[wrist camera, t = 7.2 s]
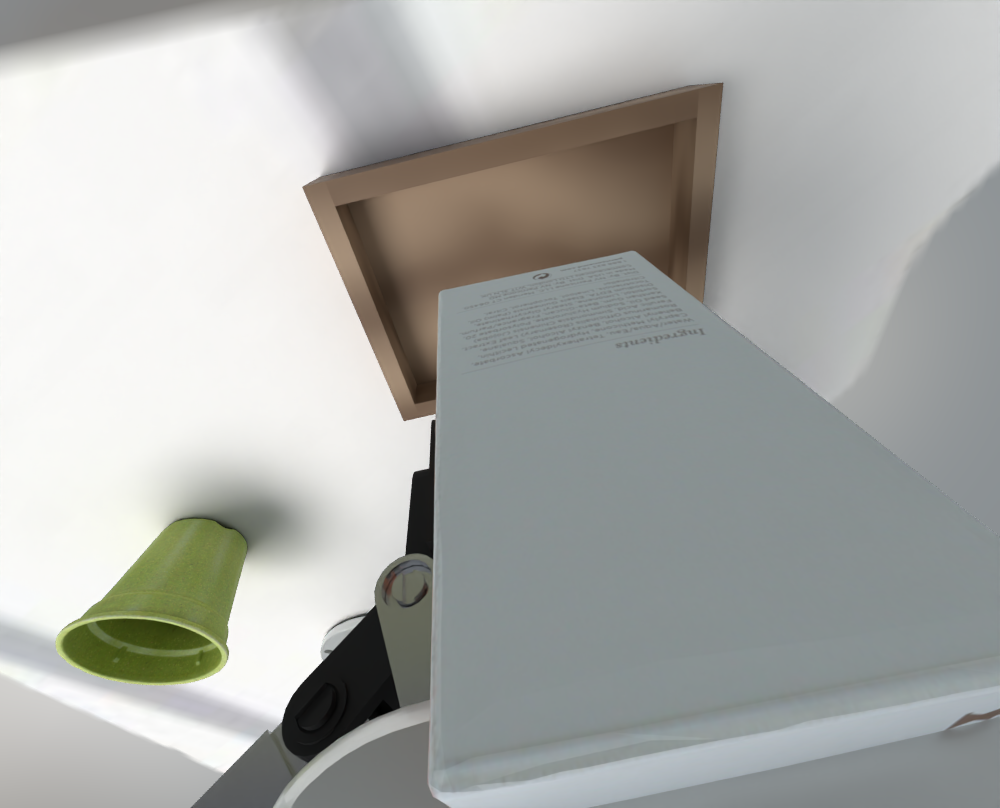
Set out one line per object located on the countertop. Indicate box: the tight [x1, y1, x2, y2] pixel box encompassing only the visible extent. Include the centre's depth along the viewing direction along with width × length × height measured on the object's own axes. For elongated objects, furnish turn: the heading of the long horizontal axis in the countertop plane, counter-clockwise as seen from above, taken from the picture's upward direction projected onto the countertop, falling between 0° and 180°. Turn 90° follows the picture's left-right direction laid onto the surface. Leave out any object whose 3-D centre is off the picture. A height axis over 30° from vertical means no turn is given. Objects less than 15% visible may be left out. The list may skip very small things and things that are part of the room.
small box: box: [427, 251, 1000, 808], centre depth 10 cm, size 8×6×10 cm
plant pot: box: [56, 519, 247, 685], centre depth 30 cm, size 9×9×9 cm
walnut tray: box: [303, 83, 723, 421], centre depth 22 cm, size 13×18×3 cm
